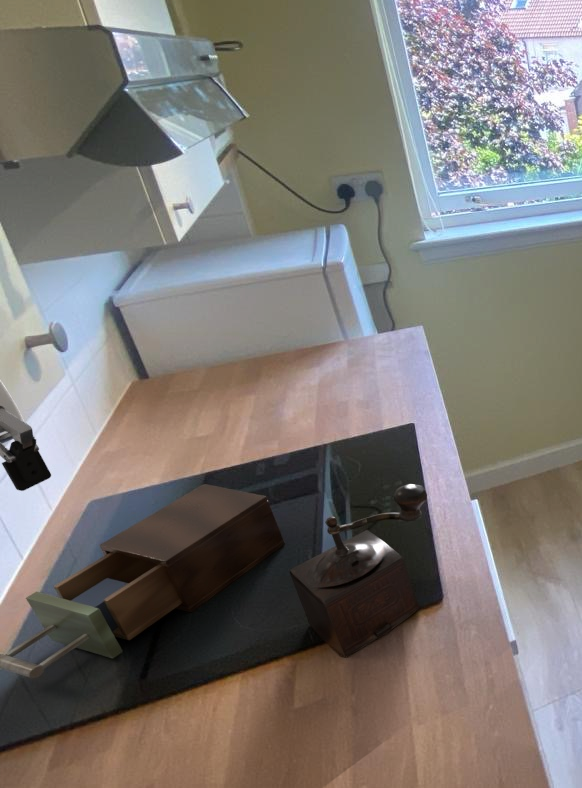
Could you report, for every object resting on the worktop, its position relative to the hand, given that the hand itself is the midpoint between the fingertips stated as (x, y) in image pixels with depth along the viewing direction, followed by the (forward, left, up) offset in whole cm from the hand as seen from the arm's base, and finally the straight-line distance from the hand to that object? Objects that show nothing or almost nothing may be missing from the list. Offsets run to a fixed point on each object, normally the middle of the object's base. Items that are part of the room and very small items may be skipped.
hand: (7, 478), depth 89 cm
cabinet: (+12, +6, -24) cm, 28 cm away
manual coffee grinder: (+35, -16, -24) cm, 46 cm away
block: (+3, -2, -22) cm, 23 cm away
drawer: (+3, -3, -23) cm, 24 cm away
